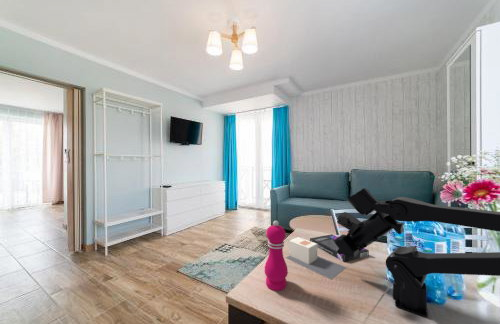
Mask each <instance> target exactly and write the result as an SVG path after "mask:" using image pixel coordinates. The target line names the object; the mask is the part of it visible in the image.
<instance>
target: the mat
mask: <svg viewBox="0 0 500 324" xmlns="http://www.w3.org/2000/svg"><path fill="white" fill-rule="evenodd" d="M285 259H287V260H289V261H291V262H293V263H296V264H298V265H300V266H302V267H303V268H306V269H308V270H310V271H312V272H315V273H317V274H319V275H321V276H324V278H325V277H326V278H328V279H329V280H333V279H334V278H335V277H337V276H338V275H339V274H341V273H342V272H343V271H344V270H345V269H347V266H345V265H341V264H339V263H337V262H334V261H331V260H329V259H326V258H324V257H321V256H319V255H317V260H315V261H313V262H312V263H310V264H307V263H305V262H302V261H300V260H298V259H296V258H294V257H291V256H289V255H287V256H285Z"/></svg>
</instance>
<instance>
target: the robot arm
mask: <svg viewBox="0 0 500 324" xmlns="http://www.w3.org/2000/svg"><path fill="white" fill-rule="evenodd" d="M347 202H348V203H349V204H350V205H351V206H352V207H353V209H355V210H356V212H357V213H359V214H360V216H364V215H365V216H366V217H368V216H369V215H371V214H372V213H374V212H375V213H374V214H372V215H371V216H369V217H368V218H367V219H364V220H363V221H361V220H359V218H357V217H355V216H353V215H352V214H351V213H348V212H346V211H344V212H341V213H340V214H339V215H338V216H337V217H336V220H337V221H336V222H337V224H339V225H340V226H341V227H343V228H345V229H347V230H348V231H347V233H346V234H341V235H339V236H337V237H338V238H336V239H335V240H334V242H335V244H336V245H337V246H338V248H339V249H338V251H337V253H338V254H344V255H345V257H346V258H347V259H349V260H350V259H352V258H353V257H355V256H356V255H357V254H359V251H361V250H362V249H364V248H365V249H366V247H368V246H370V245H371V244H373V243H374V242H376V241H377V240H378V239H380V238H382V237H383V236H385V235H386V234H388V233H389V232H391V231H392V230H393V231H395V232H396V233H397V234H398V235H401V234H403V232H404V230H405V228H404V224H405V223H404V222H413V223H414V222H437V223H441V224H447V225H448V224H449V225H455V226H461V227H467V228H473V229H481V230H486V231H492V232H499V233H500V211H497V210H496V211H495V210H485V209H479V208H478V209H477V208H467V207H460V206H459V207H457V206H450V205H441V204H440V205H439V204H432V203H429V202H425V201H422V200H418V199H415V198H411V197H406V196H398V197H396V198H393V199H391V200H385V199H384V200H381V201H379V200H378V198H376V197H375V196H374V195H373V194H372V193H371V192H370V190H369V189H368V188H366V187H364V188H361V190H359V191H358V192H356V193H354V194H352V195H351V196H350V197H349V198H348V199H347ZM350 261H351V260H350ZM385 266H386V269H387V270H388V271H389V273H390V274H391V275H392V278H393V281H392V299H393V300H394V306H395V307H397V308H400V309H401V310H405V311H407V312H411V313H414V314H416V315H419V316H422V317H425V318H429V313H428V307H427V306H428V301H427V300H428V299H427V296H428V294H427V293H428V290H427V285H426V282H425V281H426V279H427V277H428V275H431V274H444V275H448V274H449V275H450V274H451V275H468V276H469V275H471V276H473V275H474V276H490V277H491V276H493V277H494V276H495V277H496V276H497V277H500V252H499V251H498V252H450V253H449V252H443V253H439V252H437V253H427V252H423V251H420V250H419V251H418V246H417V245H411V246H403V245H399V246H398V247H397V248H395V249H394V250H393V251H392V252H391V253H390V254H389V255H388V256H387V257H386V259H385Z"/></svg>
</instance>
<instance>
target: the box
mask: <svg viewBox="0 0 500 324" xmlns="http://www.w3.org/2000/svg"><path fill="white" fill-rule="evenodd" d="M338 237H339V236H337V235H335V234H326V235H320V236H316V237H310V238H309V241H311V242H314V243H317V249H320V250H321V251H324V252H325V253H327V254H329V255H331V256H333V258H334V257H335V258H336V259H338V260H340V261H342V262H344V263H346V262H349V261H353V260H357V259H360V258H364V257H369V256H370V255H369V254H370V250H369V249H367V248H366V247H365V248H364V249H362V250H361V251H359V254H357V255H356V256H355V257H353V258H352V259H350V260H349V259H347V258H346V257H345V255H344V254H338V253H337V251H338V249H339V248H338V246H337V245H336V244H335V242H334V240H335V239H336V238H338Z"/></svg>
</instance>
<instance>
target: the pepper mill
mask: <svg viewBox="0 0 500 324" xmlns="http://www.w3.org/2000/svg"><path fill="white" fill-rule="evenodd" d="M279 224H280V223H279V221H278V220H274V221H273V222H272V225H270V226H268V227H267V228H266V232H265V233H266V235H265V236H266V238H267V239H268V240H267V246H268V248H269V250H268V253H269V254H268V257H267V259H266V262H265V264H264V274H265V276H266V277H265V285H266V287H267V288H268V289H270V290H272V291H275V292H276V291H278V292H279V291H283V290H285V289H286V286H287V277H288V273H289V271H288V270H289V269H288V266H287V263H286V260H285V256H284V252H283V249H284V247H285V241H284V240H285V239H286V237H287V236H286V229H284V227H283V226H281V225H279Z"/></svg>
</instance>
